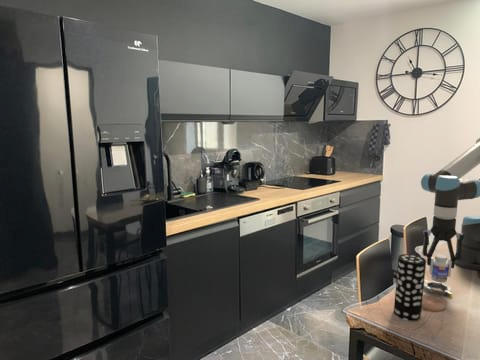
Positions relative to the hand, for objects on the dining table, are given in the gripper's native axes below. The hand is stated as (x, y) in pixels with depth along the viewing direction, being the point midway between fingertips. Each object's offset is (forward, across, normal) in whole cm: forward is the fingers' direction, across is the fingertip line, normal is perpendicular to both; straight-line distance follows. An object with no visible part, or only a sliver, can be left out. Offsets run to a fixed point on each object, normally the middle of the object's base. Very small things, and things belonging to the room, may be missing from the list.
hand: (439, 274), depth 136 cm
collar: (+7, 0, 0) cm, 7 cm away
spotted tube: (+6, +13, +24) cm, 28 cm away
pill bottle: (+3, 0, 0) cm, 3 cm away
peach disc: (+6, +5, +14) cm, 16 cm away
